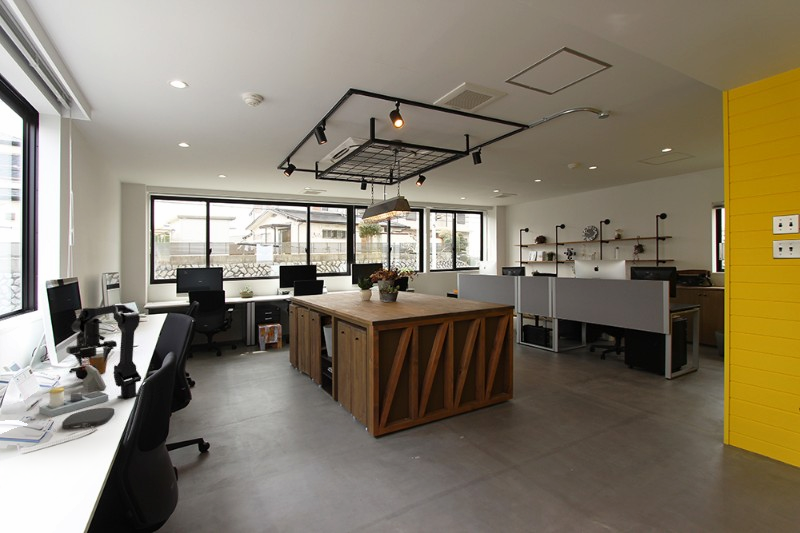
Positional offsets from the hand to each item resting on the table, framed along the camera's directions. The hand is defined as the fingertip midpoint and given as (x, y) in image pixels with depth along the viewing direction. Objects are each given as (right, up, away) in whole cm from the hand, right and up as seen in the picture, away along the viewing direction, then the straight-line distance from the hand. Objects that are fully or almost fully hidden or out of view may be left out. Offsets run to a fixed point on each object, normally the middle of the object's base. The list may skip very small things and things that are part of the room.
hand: (92, 364), depth 188 cm
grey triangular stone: (-2, -13, +5) cm, 14 cm away
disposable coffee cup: (-20, -13, +29) cm, 37 cm away
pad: (+11, -11, -13) cm, 20 cm away
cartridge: (+5, -14, -26) cm, 29 cm away
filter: (-13, -13, +14) cm, 23 cm away
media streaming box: (+26, -15, -35) cm, 46 cm away
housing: (+8, -14, -20) cm, 25 cm away
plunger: (+8, -11, -19) cm, 24 cm away
